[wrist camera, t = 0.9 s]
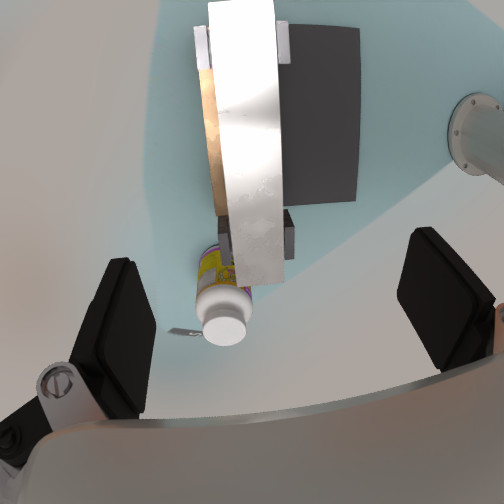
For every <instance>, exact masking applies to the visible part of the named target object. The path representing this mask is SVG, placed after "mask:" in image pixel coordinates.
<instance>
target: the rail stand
mask: <svg viewBox="0 0 504 504" xmlns="http://www.w3.org/2000/svg"><path fill="white" fill-rule="evenodd" d="M275 34H276V50H277V64H291V63H290V45H289V29H288V21H275ZM194 36H195V47H196V57H197V67H198V70H199V77H200V86H201V96H202V105H203V114H204V123H205V132H206V141H207V149H208V157H209V165H210V174H211V181H212V189H213V197H214V205H215V212H216V216H218V240H219V247H220V254H221V261H222V266H230V265H232V264H231V251H233V248H232V239H231V231H230V222H229V213H228V205H227V196H226V187H225V177H224V168H223V159H222V149H221V140H220V130H219V120H218V110H217V99H216V89H215V78H214V68H213V57H212V45H211V34H210V27H208V28H207V27H206V25H205V26H197V27H194ZM283 227H284V258H285V260H290V259H294V224H293V222H292V219H291V217H290V214H289V212H288V209H285V210H283Z"/></svg>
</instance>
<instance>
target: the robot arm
mask: <svg viewBox="0 0 504 504" xmlns="http://www.w3.org/2000/svg"><path fill="white" fill-rule="evenodd" d="M448 142H449V149H450V153H451V156H452V158H453V160H454V162H455V163H456V165H457V166H458V167H459V168H460V169H461V170H463V171H464V172H466V173H468V174H470V175H473V176H474V175H476V176H479V175H484V174H488V175H489V176H491V177H492V178H494V179H495V180H497V181H498V182H500V183H501V184H502V185H504V111H503V109H502V107H501V106H500V104H499V103H498V102H497V101H496V100H495V99H494V98H492V97H490V96H488V95H485V94H481V93H474V94H471V95H469V96H467V97H465V98H464V99H463V100H462V101H461V102H460V103H459V104H458V106H457V107H456V109H455V110H454V113H453V115H452V117H451V121H450V124H449V132H448ZM397 299H398V301H399V303H400V305H401V306H402V308H403V309H404V311H405V313H406V315H407V316H408V318H409V320H410V321H411V323H412V325H413V327H414V329H415V330H416V332H417V334H418V336H419V338H420V339H421V341H422V343H423V345H424V347H425V349H426V350H427V352H428V354H429V356H430V358H431V360H432V362H433V364H434V366H435V367H436V368H437V369H440V371H441V374H438V375H434V376H431V377H428V378H425V379H421V380H418V381H415V382H411V383H408V384H404V385H401V386H397V387H393V388H390V389H386V390H382V391H378V392H374V393H370V394H365V395H361V396H357V397H352V398H347V399H343V400H338V401H333V402H328V403H322V404H316V405H311V406H305V407H298V408H292V409H285V410H278V411H270V412H262V413H253V414H243V415H232V416H218V417H201V418H179V419H139V414H140V413H143V412H144V410H145V403H146V394H147V387H148V380H149V373H150V365H151V358H152V352H153V346H154V339H155V334H156V321H155V318H154V315H153V313H152V310H151V307H150V305H149V302H148V299H147V296H146V293H145V290H144V288H143V284H142V282H141V278H140V275H139V272H138V270H137V266H136V264H135V262H134V261H130V260H129V258H127V257H125V258H116V259H111V260H110V262H109V264H108V266H107V268H106V271H105V273H104V275H103V278H102V280H101V282H100V284H99V287H98V289H97V292H96V294H95V296H94V299H93V301H91V303H90V305H89V307H88V310H87V313H86V315H85V318H84V320H83V323H82V325H81V328H80V331H79V333H78V336H77V339H76V341H75V344H74V347H73V350H72V353H71V356H70V359H69V362H57V363H54V364H52V365H49V366H48V367H47V368H46V369H44V371H43V372H42V373H41V374H40V376H39V378H38V380H37V385H36V390H37V396H36V397H35V398H33V399H32V400H31V401H29V402H27V403H26V404H25V405H23V406H22V407H21V408H19V409H18V410H16V411H15V412H14V413H12V414H11V415H10V416H8V417H7V418H5V419H4V420H3V421H1V422H0V504H504V303H502V304H499V305H498V306H497V308H496V309H495V307H494V306H493V304H494V302H495V300H496V298H495V297H494V296H493V295H492V293H491V292H490V291H489V289H488V288H487V287H486V286H485V285H484V284H483V282H482V281H481V280H480V279H479V278H478V276H477V275H476V274H475V273H474V272H473V271H472V269H471V268H470V267H469V266H468V265H467V264H466V263H465V262H464V260H462V258H461V257H460V256H459V255H458V254H457V253H456V252H455V251H454V249H453V248H452V247H451V246H450V245H449V244H448V243H447V242H446V241H445V240H444V239H443V238H442V237H441V236H440V235H439V234H438V233H437V232H436V231H435V230H434V229H433V228H432V227H420V228H416V229H415V231H414V232H413V233H412V234H411V236H410V240H409V245H408V249H407V253H406V258H405V262H404V266H403V270H402V274H401V278H400V282H399V286H398V289H397Z"/></svg>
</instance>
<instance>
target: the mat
mask: <svg viewBox="0 0 504 504" xmlns="http://www.w3.org/2000/svg"><path fill="white" fill-rule="evenodd" d="M288 29H289V45H290V63H291V64H277V66H278V84H279V104H280V126H281V152H282V184H283V206H295V205H307V204H321V203H335V202H350V201H356V189H357V176H358V160H359V141H360V110H361V59H360V30H359V28H350V27H339V26H326V25H305V24H288Z"/></svg>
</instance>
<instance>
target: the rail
mask: <svg viewBox="0 0 504 504" xmlns="http://www.w3.org/2000/svg"><path fill="white" fill-rule="evenodd" d="M208 9H209V22H210V34H211V45H212V57H213V68H214V78H215V89H216V99H217V110H218V120H219V130H220V140H221V149H222V159H223V168H224V177H225V187H226V196H227V205H228V213H229V222H230V231H231V239H232V248H233V256H234V265H235V273H236V281H237V287H246V286H256V285H265V284H275V283H284V227H283V184H282V152H281V126H280V104H279V84H278V66H277V50H276V34H275V20H274V6H273V0H237V1H224V2H213V3H208Z"/></svg>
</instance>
